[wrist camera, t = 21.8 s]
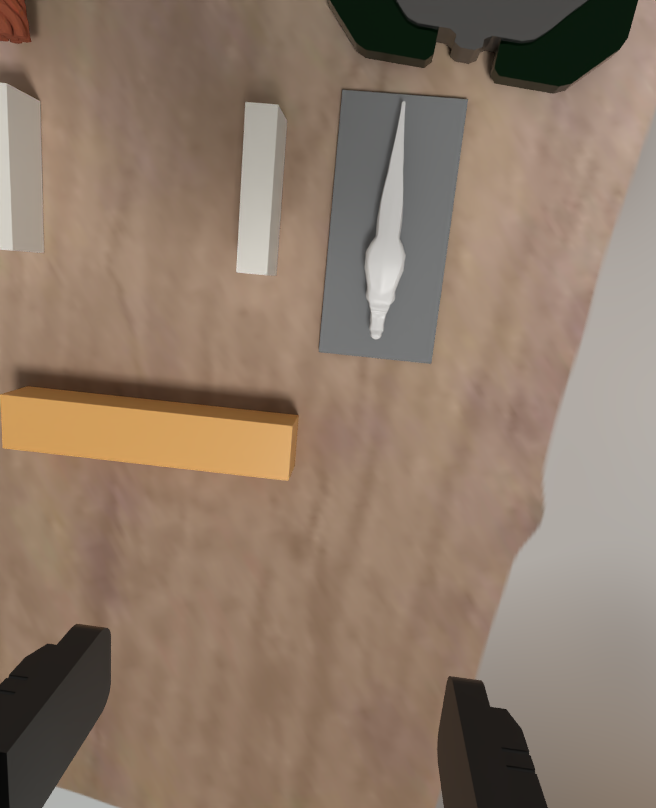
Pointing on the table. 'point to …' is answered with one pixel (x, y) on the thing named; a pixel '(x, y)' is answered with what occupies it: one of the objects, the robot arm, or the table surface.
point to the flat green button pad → (493, 35)
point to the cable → (14, 21)
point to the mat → (421, 222)
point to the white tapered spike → (387, 240)
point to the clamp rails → (259, 200)
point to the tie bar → (150, 432)
